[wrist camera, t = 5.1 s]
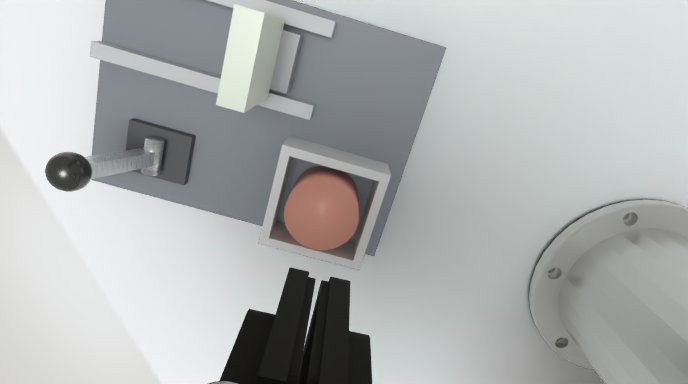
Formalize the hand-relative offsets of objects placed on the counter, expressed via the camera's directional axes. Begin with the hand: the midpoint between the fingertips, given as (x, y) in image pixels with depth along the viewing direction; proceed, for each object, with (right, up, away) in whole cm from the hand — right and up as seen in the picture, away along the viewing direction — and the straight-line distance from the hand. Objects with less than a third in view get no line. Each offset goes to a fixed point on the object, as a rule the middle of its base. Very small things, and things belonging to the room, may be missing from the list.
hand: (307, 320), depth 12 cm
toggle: (-10, +5, +13) cm, 17 cm away
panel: (-4, +8, +14) cm, 17 cm away
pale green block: (-3, +11, +11) cm, 16 cm away
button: (0, +3, +14) cm, 15 cm away
